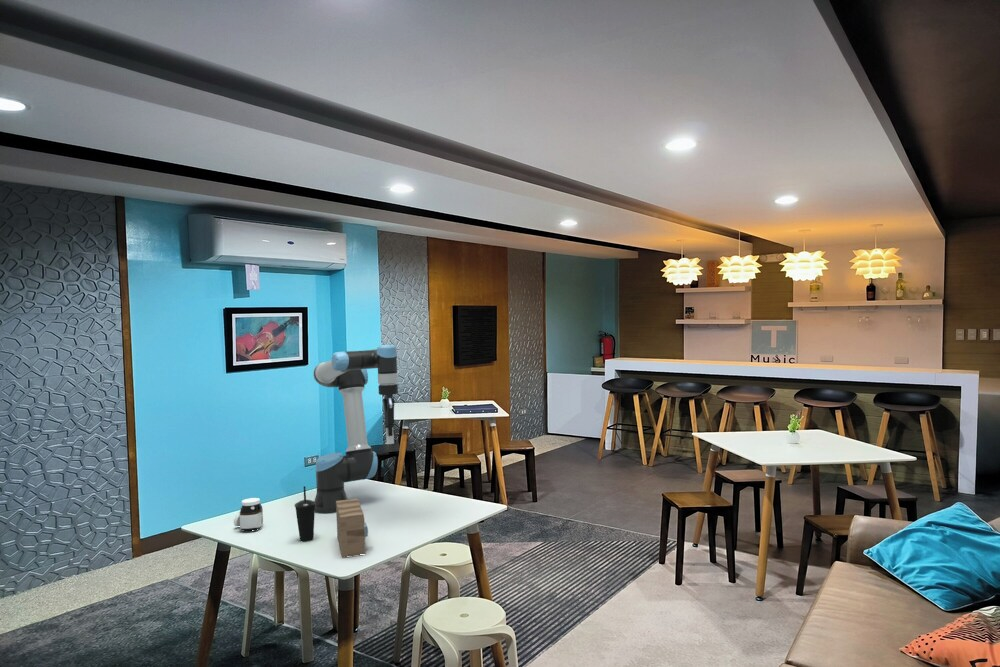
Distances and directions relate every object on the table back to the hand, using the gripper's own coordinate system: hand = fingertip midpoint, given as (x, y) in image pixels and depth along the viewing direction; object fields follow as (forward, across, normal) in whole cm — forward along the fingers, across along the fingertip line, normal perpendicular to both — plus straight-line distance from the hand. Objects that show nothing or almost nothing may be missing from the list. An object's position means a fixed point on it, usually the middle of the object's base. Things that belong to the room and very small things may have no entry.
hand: (390, 443), depth 253 cm
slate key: (+27, -23, +15) cm, 39 cm away
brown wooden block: (+32, -18, +18) cm, 41 cm away
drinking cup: (+33, -4, +33) cm, 47 cm away
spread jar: (+33, +20, +55) cm, 67 cm away
